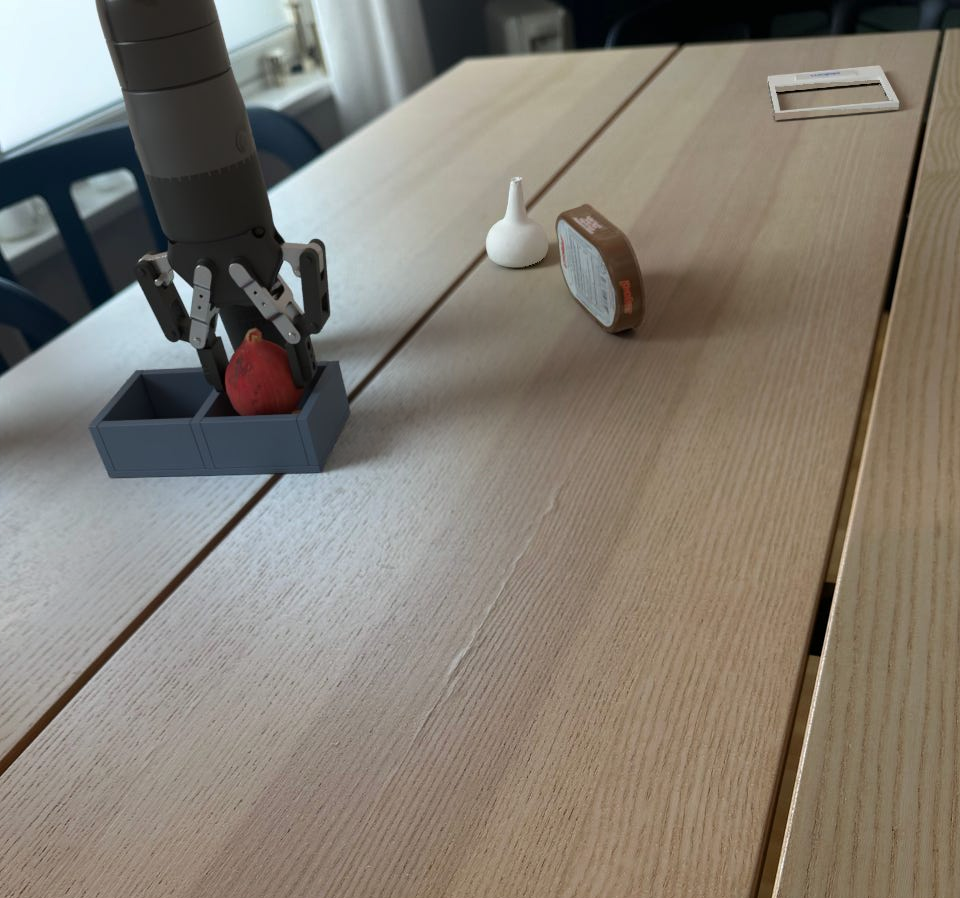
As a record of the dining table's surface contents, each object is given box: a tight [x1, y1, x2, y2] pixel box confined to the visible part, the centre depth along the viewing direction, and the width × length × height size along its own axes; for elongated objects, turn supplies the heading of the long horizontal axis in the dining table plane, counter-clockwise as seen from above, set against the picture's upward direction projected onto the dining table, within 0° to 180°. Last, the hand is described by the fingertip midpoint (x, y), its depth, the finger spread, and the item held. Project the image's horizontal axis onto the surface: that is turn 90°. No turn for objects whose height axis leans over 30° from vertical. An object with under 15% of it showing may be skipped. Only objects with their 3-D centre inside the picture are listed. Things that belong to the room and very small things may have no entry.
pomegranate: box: [225, 328, 303, 416], centre depth 77 cm, size 6×6×8 cm
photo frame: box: [767, 64, 900, 113], centre depth 132 cm, size 15×1×18 cm
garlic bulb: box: [485, 176, 549, 268], centre depth 101 cm, size 6×6×8 cm
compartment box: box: [87, 360, 351, 479], centre depth 80 cm, size 18×9×5 cm, turn 81°
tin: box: [554, 203, 646, 334], centre depth 89 cm, size 15×3×8 cm, turn 16°
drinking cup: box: [218, 292, 287, 353], centre depth 86 cm, size 8×8×20 cm
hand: (264, 385), depth 78 cm, fingers closed on pomegranate, 6 cm apart
